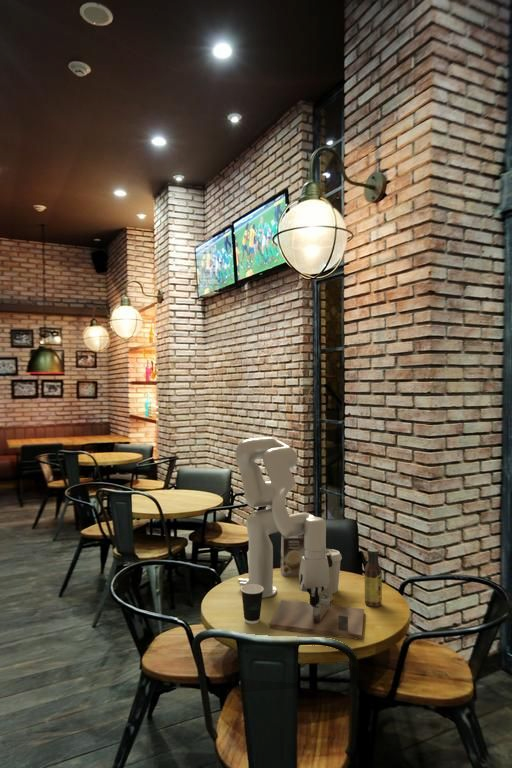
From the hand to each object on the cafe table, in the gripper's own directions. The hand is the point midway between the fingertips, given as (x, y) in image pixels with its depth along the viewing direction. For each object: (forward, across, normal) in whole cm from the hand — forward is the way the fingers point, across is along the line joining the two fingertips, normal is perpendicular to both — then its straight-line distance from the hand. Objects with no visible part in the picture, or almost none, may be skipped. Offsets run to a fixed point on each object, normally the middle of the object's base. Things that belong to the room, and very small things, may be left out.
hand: (314, 606), depth 177 cm
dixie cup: (+4, +22, -5) cm, 22 cm away
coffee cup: (+4, -17, -19) cm, 26 cm away
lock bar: (+2, -1, +3) cm, 4 cm away
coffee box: (+4, -11, -41) cm, 43 cm away
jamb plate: (+4, 0, +3) cm, 5 cm away
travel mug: (+4, -10, -12) cm, 16 cm away
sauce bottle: (+4, -26, -2) cm, 26 cm away
